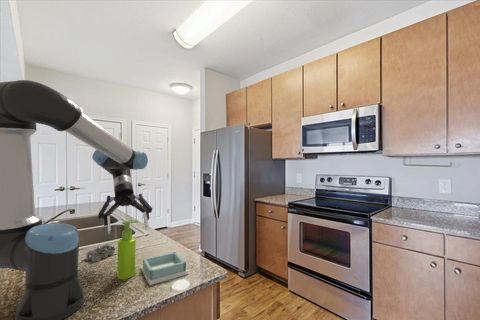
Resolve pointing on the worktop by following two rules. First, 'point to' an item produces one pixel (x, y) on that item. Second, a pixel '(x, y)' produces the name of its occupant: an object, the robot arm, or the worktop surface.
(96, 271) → the worktop surface
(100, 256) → the egg carton
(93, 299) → the worktop surface
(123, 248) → the soap dispenser
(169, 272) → the cradle
